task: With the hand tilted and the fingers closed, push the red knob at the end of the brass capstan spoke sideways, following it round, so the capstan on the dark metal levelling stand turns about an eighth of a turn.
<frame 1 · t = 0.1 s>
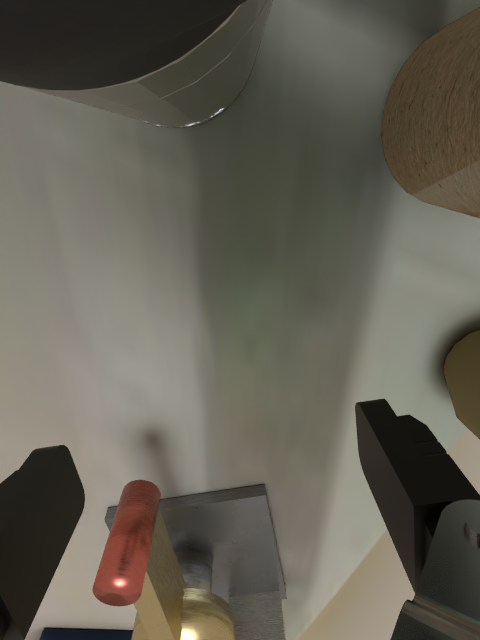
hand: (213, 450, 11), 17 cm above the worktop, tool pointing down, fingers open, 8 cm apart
tube: (464, 119, 24), on the worktop
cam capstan: (163, 616, 28), point 9 cm above the worktop, hinge at 0.0°
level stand: (202, 549, 38), on the worktop
squeeze bottle: (479, 359, 30), on the worktop
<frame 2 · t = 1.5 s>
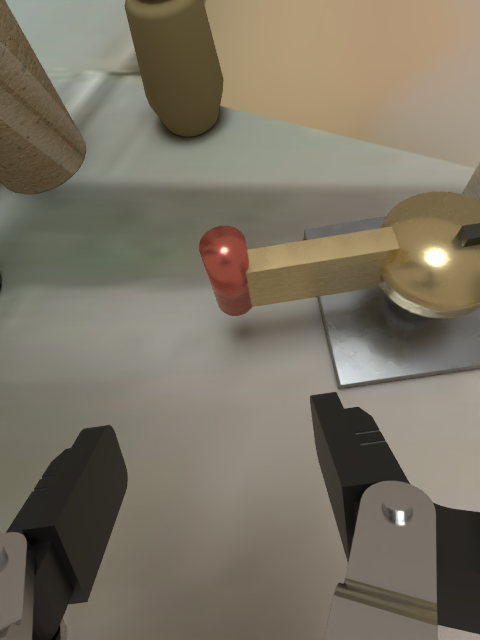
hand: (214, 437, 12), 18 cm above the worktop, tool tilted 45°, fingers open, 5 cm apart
tube: (43, 159, 44), on the worktop
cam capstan: (359, 254, 25), point 9 cm above the worktop, hinge at 0.0°
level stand: (405, 293, 33), on the worktop
squeeze bottle: (192, 120, 44), on the worktop
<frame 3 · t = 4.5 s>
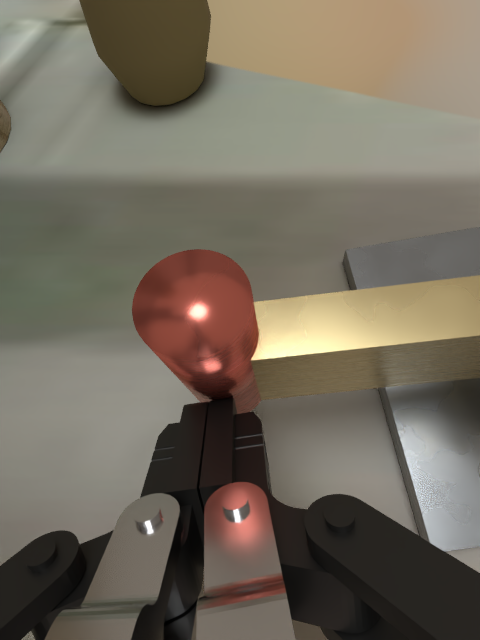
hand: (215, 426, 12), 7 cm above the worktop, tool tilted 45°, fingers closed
squeeze bottle: (167, 83, 30), on the worktop
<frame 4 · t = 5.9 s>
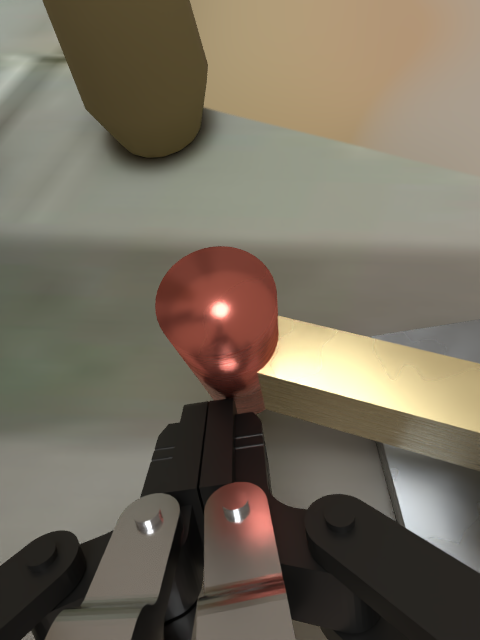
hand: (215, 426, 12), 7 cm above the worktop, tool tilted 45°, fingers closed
squeeze bottle: (161, 131, 28), on the worktop
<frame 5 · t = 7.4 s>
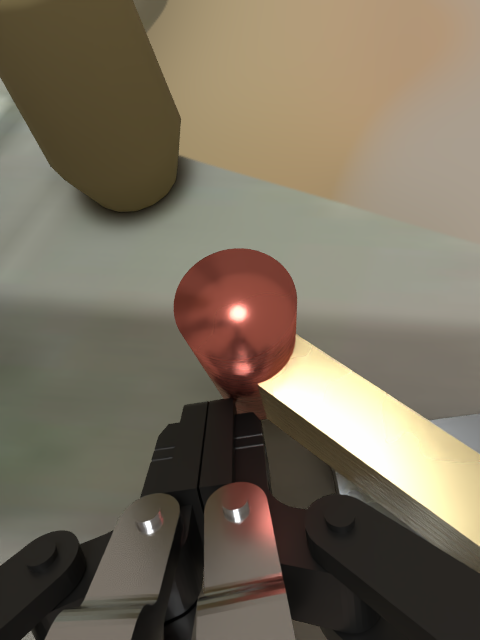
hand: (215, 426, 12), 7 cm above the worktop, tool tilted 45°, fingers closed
squeeze bottle: (136, 181, 27), on the worktop
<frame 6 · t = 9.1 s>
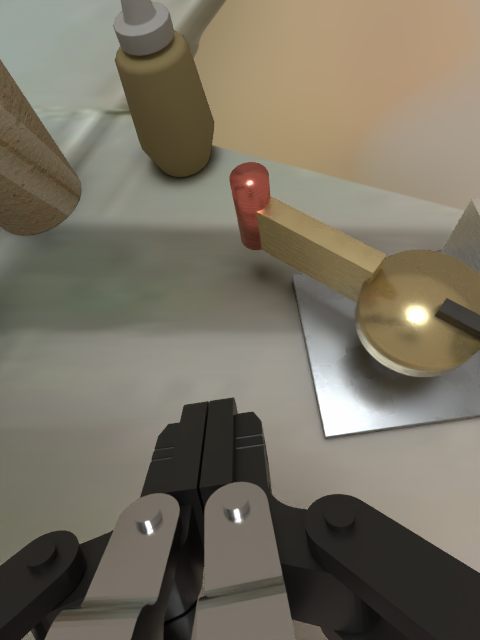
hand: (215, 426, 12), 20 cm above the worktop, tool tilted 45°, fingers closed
tube: (39, 200, 45), on the worktop
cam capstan: (350, 260, 26), point 9 cm above the worktop, hinge at -44.8°
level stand: (391, 340, 33), on the worktop
squeeze bottle: (185, 160, 45), on the worktop
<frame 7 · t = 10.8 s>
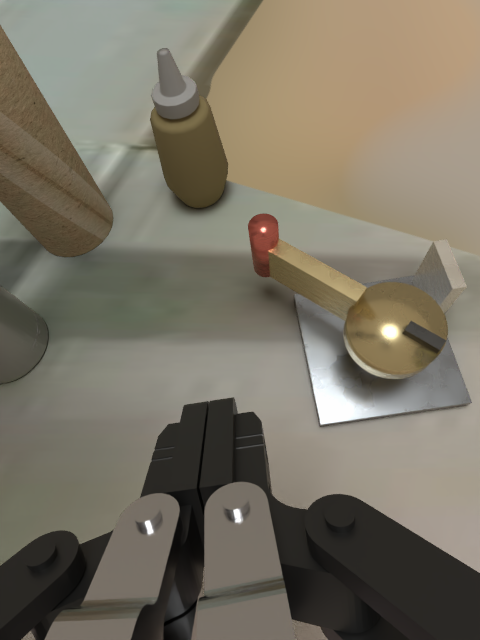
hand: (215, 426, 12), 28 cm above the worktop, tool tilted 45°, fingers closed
tube: (77, 226, 53), on the worktop
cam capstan: (340, 290, 35), point 9 cm above the worktop, hinge at -44.8°
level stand: (373, 348, 41), on the worktop
squeeze bottle: (202, 192, 53), on the worktop
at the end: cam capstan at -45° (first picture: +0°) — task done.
